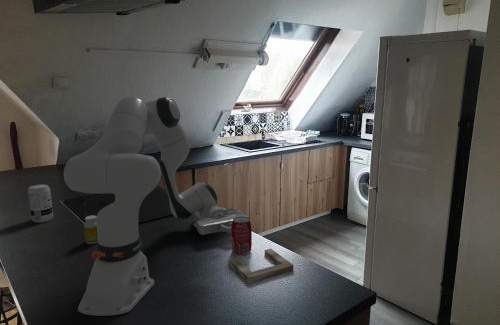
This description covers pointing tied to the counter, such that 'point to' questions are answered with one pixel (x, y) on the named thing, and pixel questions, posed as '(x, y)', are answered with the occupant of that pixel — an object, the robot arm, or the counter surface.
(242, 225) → the soda can
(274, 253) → the birch bay
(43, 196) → the supplement can
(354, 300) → the counter surface
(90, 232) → the supplement bottle
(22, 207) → the counter surface
